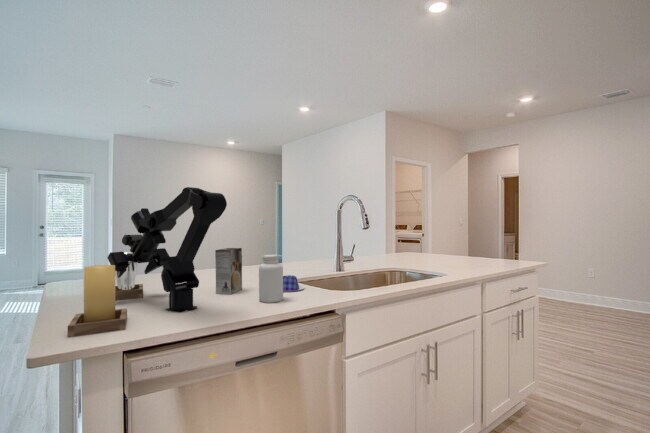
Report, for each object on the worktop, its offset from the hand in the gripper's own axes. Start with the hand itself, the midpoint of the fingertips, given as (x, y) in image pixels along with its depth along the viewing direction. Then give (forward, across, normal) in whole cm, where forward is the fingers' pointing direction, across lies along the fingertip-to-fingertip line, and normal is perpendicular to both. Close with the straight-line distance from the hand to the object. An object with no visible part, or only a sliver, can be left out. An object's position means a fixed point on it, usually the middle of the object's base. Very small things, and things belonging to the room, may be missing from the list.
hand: (132, 274), depth 119 cm
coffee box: (-8, -25, +20) cm, 34 cm away
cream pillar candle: (-13, +21, +25) cm, 35 cm away
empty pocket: (+9, 0, +2) cm, 9 cm away
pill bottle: (-24, -24, +37) cm, 50 cm away
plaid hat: (-19, -41, +32) cm, 55 cm away
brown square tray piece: (-13, +21, +25) cm, 35 cm away
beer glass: (+9, 0, +2) cm, 9 cm away
